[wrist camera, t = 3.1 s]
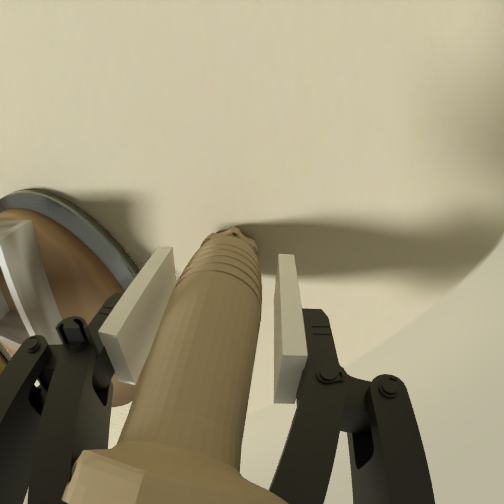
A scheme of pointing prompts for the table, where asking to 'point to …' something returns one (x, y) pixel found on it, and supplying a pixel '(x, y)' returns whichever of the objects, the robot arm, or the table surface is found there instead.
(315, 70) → the table surface
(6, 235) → the dial
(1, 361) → the book
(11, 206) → the base
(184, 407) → the handle
